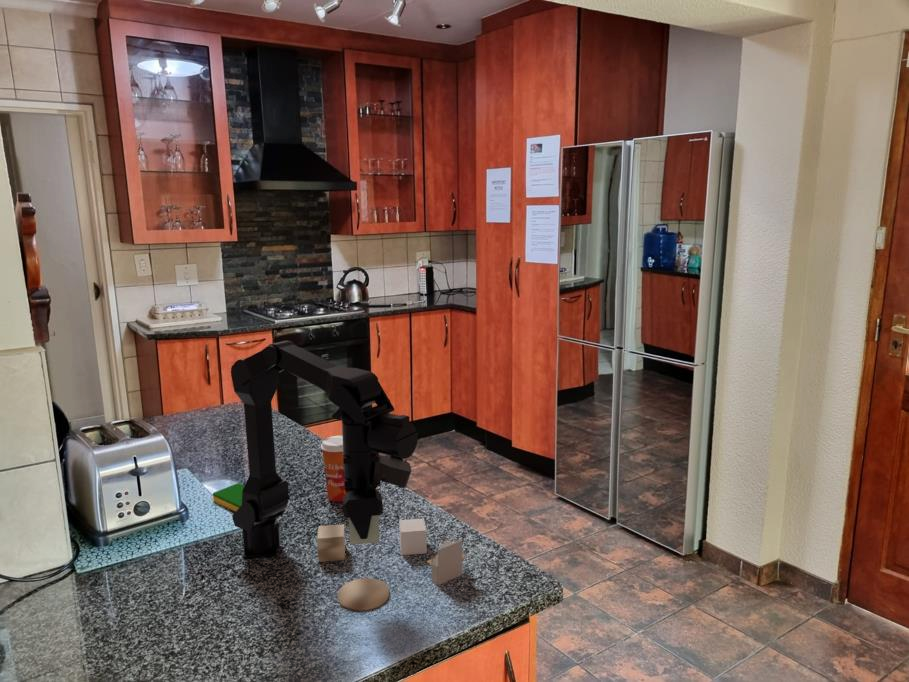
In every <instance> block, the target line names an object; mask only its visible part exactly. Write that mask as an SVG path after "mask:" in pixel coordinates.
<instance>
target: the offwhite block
mask: <svg viewBox="0 0 909 682" xmlns="http://www.w3.org/2000/svg"><path fill="white" fill-rule="evenodd" d="M398 522H399V523H398V524H399V525H398V528H399V548H400V554H401V556H409V555H420V554H422V555H424V554H427V553H428V552H427V551H428V550H427V545H428V544H427V527H426V523H425V518H423V517H422V518H412V519H411V518H410V519H400V520H399V521H398Z"/></svg>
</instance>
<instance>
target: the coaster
mask: <svg viewBox="0 0 909 682" xmlns="http://www.w3.org/2000/svg"><path fill="white" fill-rule="evenodd" d="M389 598H390V588H389V586H388V585H387V584H386V583H385V582H384V581H382V580H380V579H376V578H370V577H369V578H367V577H366V578H365V577H364V578H357V579H354V580H351V581H349V582H346V583H344V585H342V586H341V587H340V588H339V590H338V592H337V601H338V604H340V605H341V606H342V607H344V608H346V609H347V610H350V611H357V612H358V611H359V612H361V611H362V612H363V611H364V612H365V611H370V610H373V609H376V608H378V607H380V606H382V605H383V604H385V603H386V602H387V601H388V599H389Z"/></svg>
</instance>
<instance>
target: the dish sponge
mask: <svg viewBox="0 0 909 682" xmlns="http://www.w3.org/2000/svg"><path fill="white" fill-rule="evenodd" d="M244 486H245V484H242V483H241V482H240V483H239V482H238V483H237V482H236V484H235V483H234V484H232V485H229V486H227V487H225V488H222V489H219V490H217V491H214V492H213V493H212V499H213V502H214V503H216V504H219V505H221V506H223V507H225V508H227V509H229V510H231V511H234V513H235V512H236V511H237V510H238V509H239V508H240V506H241V505H242V491H243V488H244Z"/></svg>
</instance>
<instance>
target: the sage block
mask: <svg viewBox="0 0 909 682" xmlns="http://www.w3.org/2000/svg"><path fill="white" fill-rule="evenodd" d="M379 516H380V515H375V516H372V518H371V522H370V527H369V532H368V537H367V539H361V538H360V537H359V535H358V533H357V531H356V529H355V527H354V525H353V524H352V522H351V520H350V518H348V529H349V531H348V532H349V546H354V545H364V544H365V545H367V544H376V543H377V544H378V543H380V521H379Z"/></svg>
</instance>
